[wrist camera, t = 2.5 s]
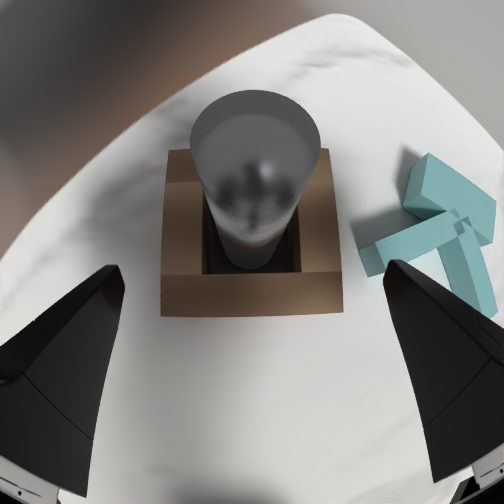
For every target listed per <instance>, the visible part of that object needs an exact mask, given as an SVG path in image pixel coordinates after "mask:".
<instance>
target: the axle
mask: <svg viewBox="0 0 504 504" xmlns="http://www.w3.org/2000/svg"><path fill="white" fill-rule="evenodd" d="M190 147H191V153H192V157H193V160H194V163H195V166H196V169H197V172H198V175H199V178H200V181H201V184H202V187H203V190H204V193H205V196H206V198H207V201H208V204H209V207H210V210H211V213H212V216H213V219H214V222H215V224H216V227H217V230H218V233H219V236H220V239H221V241H222V244H223V247H224V250H225V253H226V255H227V257H228V258H229V259H230V261H231V262H233V263H234V264H235V265H237V266H239V267H241V268H245V269H254V268H258V267H261V266H263V265H264V264H266V263H267V262H268V261H269V260H270V259H271V257H272V255H273V253H274V251H275V249H276V247H277V245H278V243H279V241H280V239H281V237H282V235H283V233H284V231H285V229H286V227H287V225H288V223H289V221H290V218H291V216H292V214H293V212H294V210H295V208H296V206H297V204H298V202H299V200H300V198H301V195H302V193H303V191H304V189H305V187H306V185H307V183H308V181H309V179H310V176H311V174H312V172H313V170H314V168H315V166H316V164H317V162H318V158H319V155H320V149H321V142H320V135H319V132H318V129H317V126H316V124H315V122H314V121H313V119H312V118H311V116H310V115H309V114H308V113H307V111H306V110H305V109H304V108H302V107H301V106H300V105H299V104H297V103H296V102H295V101H293V100H291V99H289V98H287V97H285V96H283V95H280V94H277V93H274V92H269V91H263V90H245V91H239V92H234V93H231V94H228V95H226V96H223V97H221V98H219V99H218V100H216V101H214V102H213V103H211V104H210V105H209V106H208V107H207V108H206V109H205V110H204V111H203V112H202V113H201V114H200V115H199V117H198V118H197V120H196V122H195V124H194V126H193V129H192V133H191V138H190Z"/></svg>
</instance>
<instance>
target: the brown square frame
mask: <svg viewBox="0 0 504 504" xmlns="http://www.w3.org/2000/svg"><path fill="white" fill-rule="evenodd" d="M211 227H212V213H211V210H210V207H209V204H208V201H207V198H206V196H205V193H204V190H203V187H202V184H201V181H200V178H199V175H198V172H197V169H196V166H195V163H194V160H193V157H192V153H191V149H182V150H169V154H168V163H167V173H166V184H165V196H164V210H163V227H162V249H161V316H166V317H256V316H286V315H308V314H325V313H340V312H344V311H343V287H342V269H341V255H340V242H339V230H338V220H337V210H336V201H335V193H334V184H333V177H332V169H331V162H330V155H329V149H325V148H321V149H320V155H319V158H318V162H317V164H316V166H315V168H314V170H313V172H312V174H311V176H310V179H309V181H308V183H307V185H306V187H305V189H304V191H303V193H302V195H301V198H300V200H299V202H298V204H297V206H296V208H295V210H294V212H293V214H292V216H291V218H290V221H289V223H288V225H287V236H288V257H289V273H259V274H211Z"/></svg>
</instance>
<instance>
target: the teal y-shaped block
mask: <svg viewBox="0 0 504 504" xmlns="http://www.w3.org/2000/svg"><path fill="white" fill-rule="evenodd" d="M402 208H404V209H405V210H407V211H409V212H411V213H412V214H414V215H416V216H417V217H419V218H421V219H422V220H424V221H423V222H421V223H419V224H417V225H414V226H412V227H410V228H407V229H405V230H402V231H400V232H398V233H395V234H393V235H391V236H388V237H386V238H383V239H381V240H379V241H376V242H374V243H372V244H370V245H369V246H367V247H365V248H363V249H361V250H360V251H358V252H359V255H360V257H361V260H362V262H363V265H364V267H365V270H366V273H367V275H368V277H371V276H375V275H378V274H381V273H385V271H386V268H387V265H388V262H389V261H390V260H391V259H402V260H403V261H405V262H406V263H407V262H409V261H411V260H413V259H415V258H417V257H419V256H421V255H423V254H425V253H427V252H429V251H431V250H433V249H435V248H437V249H438V251H439V254H440V257H441V259H442V262H443V265H444V268H445V271H446V274H447V277H448V280H449V283H450V286H451V289H452V293H453V294H455V295H456V296H458V297H459V298H461V299H462V300H464V301H465V302H466V303H468V304H469V305H471V306H472V307H473V308H474V309H476V310H478V311H479V312H480V313H482V314H483V315H485V316H486V317H487V318H489V319H490V318H491V317H493V316H494V315H495V314H496V313H497V312H498V309H497V305H496V301H495V297H494V293H493V289H492V285H491V282H490V278H489V275H488V271H487V268H486V265H485V262H484V258H483V255H482V252H481V250H480V247H482V246H485V245H488V244H490V243H493V235H494V225H495V213H496V201H495V200H494V199H493V198H491V197H490V196H489V195H488V194H486V193H485V192H484V191H483V190H481V189H480V188H479V187H477V186H476V185H475V184H473V183H472V182H471V181H469V180H468V179H467V178H465V177H464V176H462V175H461V174H460V173H458V172H457V171H455V170H454V169H453V168H451V167H450V166H448V165H447V164H445V163H444V162H442V161H441V160H439V159H438V158H436V157H435V156H433V155H431V154H430V153H427V154H426V155H425V156H424V157H423V158H422V159H421V160H420V161H419V162H418V163H417V164H416V165H415V166H413V167H412V168H411V172H410V176H409V181H408V185H407V189H406V194H405V198H404V202H403V206H402Z"/></svg>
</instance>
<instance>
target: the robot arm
mask: <svg viewBox="0 0 504 504" xmlns="http://www.w3.org/2000/svg"><path fill="white" fill-rule="evenodd" d="M383 286H384V290H385V294H386V298H387V302H388V306H389V310H390V314H391V318H392V322H393V325H394V328H395V331H396V334H397V337H398V340H399V343H400V346H401V349H402V352H403V356H404V359H405V362H406V365H407V369H408V372H409V375H410V379H411V382H412V386H413V390H414V393H415V397H416V401H417V405H418V409H419V413H420V417H421V421H422V425H423V429H424V430H423V431H424V435H425V440H426V445H427V449H428V455H429V460H430V465H431V471H432V477H433V482H434V483H437V482H439V481H441V480H443V479H446V478H448V477H450V476H452V475H454V474H456V473H459V472H461V471H463V470H465V469H467V468H469V467H470V466H472V470H473V473H474V476H472V477H470V478H468V479H466V480H464V481H462V482H460V484H459V486H458V488H457V490H456V492H455V494H454V496H453V498H452V500H451V502H450V504H504V328H502V327H501V326H499V325H498V324H496V323H495V322H493V321H492V320H490V319H489V318H487V317H486V316H485V315H483V314H482V313H480V312H479V311H478V310H476V309H474V308H473V307H472V306H471V305H469V304H468V303H466V302H465V301H464V300H462V299H461V298H459V297H458V296H456V295H455V294H453V293H452V292H451V291H449V290H448V289H446V288H445V287H443V286H442V285H440V284H439V283H437V282H436V281H434V280H433V279H431V278H430V277H428V276H427V275H425V274H424V273H422V272H420V271H419V270H417V269H416V268H414V267H413V266H411V265H410V264H408V263H406V262H405V261H403V260H402V259H391V260H390V261H389V262H388V265H387V268H386V271H385V274H384V278H383ZM124 292H125V284H124V281H123V278H122V275H121V272H120V269H119V267H118V265H105V266H104V267H102V268H101V269H100V270H98V271H97V272H95V273H94V274H93V275H91V276H90V277H89V278H87V279H86V280H85V281H83V282H82V283H81V284H79V285H78V286H77V287H75V288H74V289H73V290H71V291H70V292H69V293H67V294H66V295H65V296H63V297H62V298H61V299H60V300H58V301H57V302H56V303H54V304H53V305H52V306H51V307H49V308H48V309H47V310H46V311H44V312H43V313H42V314H41V315H39V316H38V317H37V318H36V319H35V321H32V322H31V323H30V324H28V325H27V326H26V327H25V328H23V329H22V330H21V331H20V332H19V333H17V334H16V335H15V336H13V337H12V338H11V339H9V340H8V341H7V342H6V343H4V344H3V345H2V346H0V504H61V503H60V501H59V499H58V493H59V489H62V490H64V491H67V492H70V493H73V494H75V495H78V496H81V497H84V498H86V496H87V488H88V478H89V469H90V461H91V454H92V447H93V440H94V433H95V427H96V422H97V416H98V411H99V406H100V401H101V396H102V391H103V387H104V382H105V378H106V373H107V369H108V365H109V361H110V357H111V353H112V349H113V345H114V342H115V338H116V334H117V330H118V325H119V320H120V314H121V308H122V302H123V297H124Z"/></svg>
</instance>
